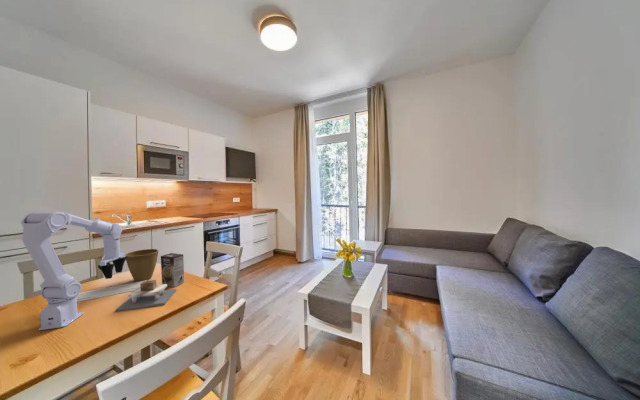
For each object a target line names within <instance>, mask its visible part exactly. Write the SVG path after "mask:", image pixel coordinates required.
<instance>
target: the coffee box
mask: <svg viewBox="0 0 640 400" xmlns="http://www.w3.org/2000/svg"><path fill="white" fill-rule="evenodd" d="M184 264H185V261H184V254H181V253H173V252H171V253H167V254H163V255H160V267H161V271H160V272H161V285H163V284H167V287H172V288H176V287H178V286H179V285H182V284H184V283H185V270H184V269H185V268H184V267H185V265H184Z"/></svg>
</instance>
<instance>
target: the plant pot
mask: <svg viewBox="0 0 640 400" xmlns="http://www.w3.org/2000/svg"><path fill="white" fill-rule="evenodd" d="M158 256H159V249H156V248H147V249H145V248H144V249H140V250H139V249H138V250H134V251H130V252H127V253H124V257H127V259H126V260H125V262H126V264H127V267H128V270H129V272H130V274H131V277H132V279H133V280H134V282H140V281H145V280H147V281H150V280H152V278H153V275H154V272H155V269H156V266H157V262H158Z"/></svg>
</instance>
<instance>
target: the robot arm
mask: <svg viewBox="0 0 640 400" xmlns="http://www.w3.org/2000/svg"><path fill="white" fill-rule="evenodd" d="M20 224H21V225H22V227H23V229H22V237H21V238H22V239H21V240H22V242H23V245H24V246H25V248H26V250H27V252H28V253H29V255H30V257H31V259H32V261H33V262H34V264H35V266H36V268H37V270H38V272H39V274H40V275H41V276H42V278H43V281H42V283H40V285H39V287H40V288H41V292H40V295H41V297H42V298H43V299H46V302H48V303H47V305H46V306H45V307H44V308H42V310H41V311H40V314H39V315H40V316H39V317H40V318H39V319H40V327H39V328H38V331H44V330H52V329H58V328H65V327H67V326H68V325H70V324H71V323H73V322H74V321H75V320H77V319H78V318H80V317H81V316H83V315H84V314H85V312H84V311H83V312H78V302H77V298H76V297H77V296H78V294H79V293H80V292H82V287H83V286H82V284H81V282H79V281H77V280H76V278H75V277H73V276H72V275H69V274H68V273H66V270H65V268H64V266H63V264H62V262H61V261H60V258H59V257H58V255H57V253H56V251H55V249H54V246H53V244H52V243H51V241H50V239H51V237H52V236H54V235H55V234H56V233H57V232H59V231H60V230H61V229H62V228H64V227H65V226H66V225H70V226H74V227H75V226H76V227H82V228H84V230H86V232H90V233H94V234H95V233H96V234H99V235H100V236H102V239H103V241H102V242H103V256H104V258H103V259H102V260H101V261H99V264H98V265H97V267H98V269H99V270H100V271H101V272H102V273H103V276H104V278H105V280H107V279H112V278H113V271H114V270H115V271H114V272H115V273H116V274H119V273H122V272H123V269H124V265H125V262H126V259H127V257H125V252H121V244H120V243H121V241H120V239H121V234H122V233H123V227H122V226H121V225H120V224H119V223H111V221H104V220H101V218H98V217H97V218H91V219H86V218H83V217H81V216H77V215H75V214H71V213H69V212H63V211H32V212H29V213H28V214H27V215H25V216H24V218H23V219H21V220H20ZM111 262H112V263H111Z"/></svg>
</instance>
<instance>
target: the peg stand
mask: <svg viewBox="0 0 640 400" xmlns="http://www.w3.org/2000/svg"><path fill="white" fill-rule="evenodd" d="M176 292H177V288H172V289H164V290H163V291H162V292H161V293H160V294H156V295H147V296H139V297H131V298H129V297H128V298H127V300H125V301H124V302H123V303H121V304H120V305H119V306H118V307H117V308H115V312H121V311H128V310H138V309H143V308H151V307H159V306H164V305H166V304H167V303H168V301H170V300H171V298H172V297H173V296H174V294H175V293H176Z"/></svg>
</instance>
